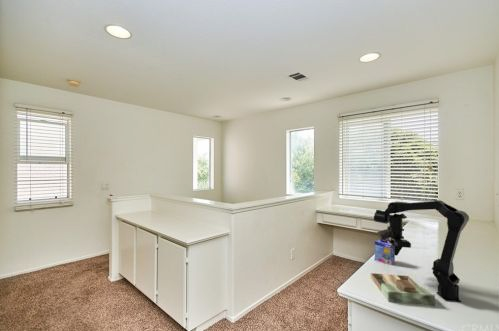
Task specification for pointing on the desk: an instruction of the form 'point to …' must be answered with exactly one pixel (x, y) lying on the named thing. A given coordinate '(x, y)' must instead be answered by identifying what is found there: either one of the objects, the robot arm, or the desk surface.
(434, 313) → the desk surface
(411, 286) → the walnut brick
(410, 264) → the desk surface
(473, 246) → the desk surface
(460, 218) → the robot arm
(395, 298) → the trap board
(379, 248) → the ink cartridge box
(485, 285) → the desk surface
